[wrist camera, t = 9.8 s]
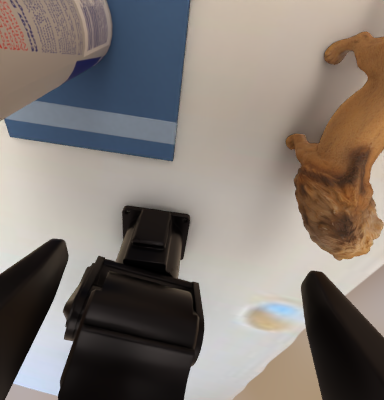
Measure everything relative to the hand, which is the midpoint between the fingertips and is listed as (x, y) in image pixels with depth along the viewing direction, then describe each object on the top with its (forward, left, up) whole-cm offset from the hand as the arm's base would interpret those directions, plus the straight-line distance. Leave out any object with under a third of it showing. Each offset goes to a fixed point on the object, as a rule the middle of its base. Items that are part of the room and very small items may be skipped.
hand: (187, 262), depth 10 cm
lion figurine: (+3, -9, -13) cm, 16 cm away
